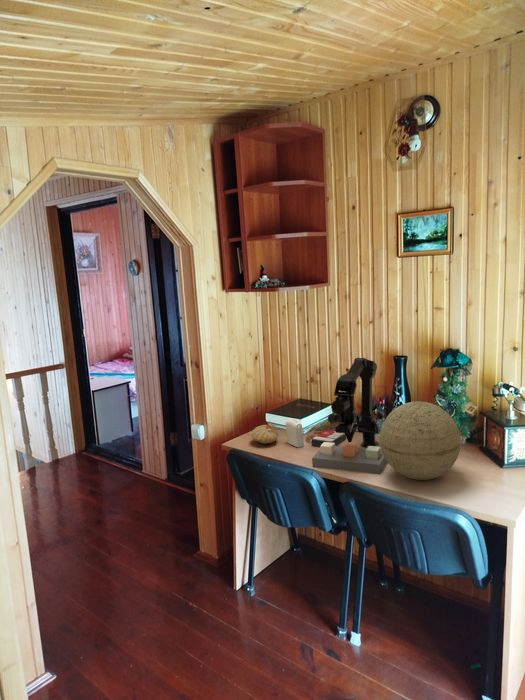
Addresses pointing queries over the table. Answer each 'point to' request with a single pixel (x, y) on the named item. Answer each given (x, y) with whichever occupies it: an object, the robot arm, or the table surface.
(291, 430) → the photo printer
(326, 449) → the cream button
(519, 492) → the table surface
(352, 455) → the terracotta button
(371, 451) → the sage button
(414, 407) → the brown large sphere
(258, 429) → the seashell
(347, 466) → the button panel
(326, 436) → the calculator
